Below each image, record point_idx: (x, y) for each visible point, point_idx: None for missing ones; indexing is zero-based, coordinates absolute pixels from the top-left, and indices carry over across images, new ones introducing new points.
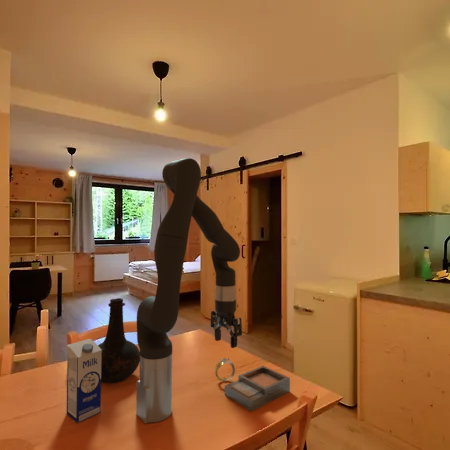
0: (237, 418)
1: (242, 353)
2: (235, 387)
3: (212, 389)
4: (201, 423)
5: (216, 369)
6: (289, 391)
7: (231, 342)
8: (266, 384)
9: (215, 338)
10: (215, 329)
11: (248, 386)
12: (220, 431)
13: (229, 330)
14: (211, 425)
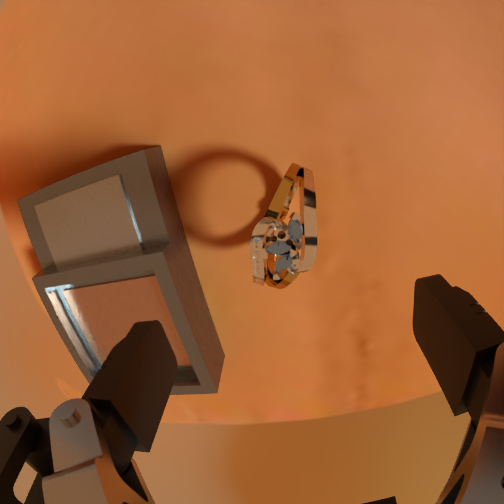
0: (26, 132)
1: (438, 384)
2: (102, 189)
3: (232, 112)
4: (51, 17)
5: (288, 170)
6: None
7: (121, 354)
8: (94, 317)
9: (439, 284)
10: (498, 360)
11: (94, 247)
12: (6, 67)
13: (64, 469)
14: (31, 45)
